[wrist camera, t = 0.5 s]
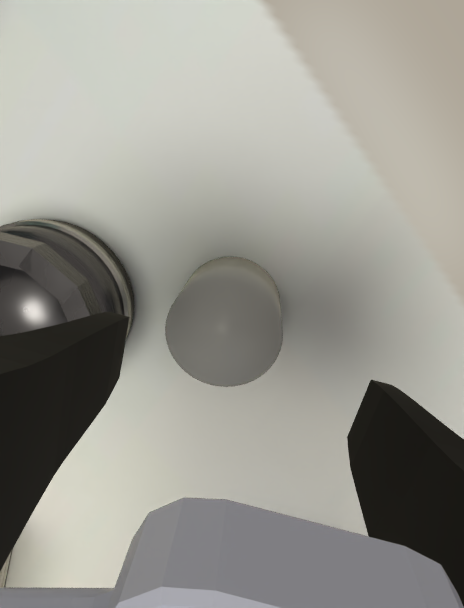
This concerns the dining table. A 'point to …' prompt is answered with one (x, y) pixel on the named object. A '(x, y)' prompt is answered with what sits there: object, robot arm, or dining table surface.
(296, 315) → the dining table surface
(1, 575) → the supplement box
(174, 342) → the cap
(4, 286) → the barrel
